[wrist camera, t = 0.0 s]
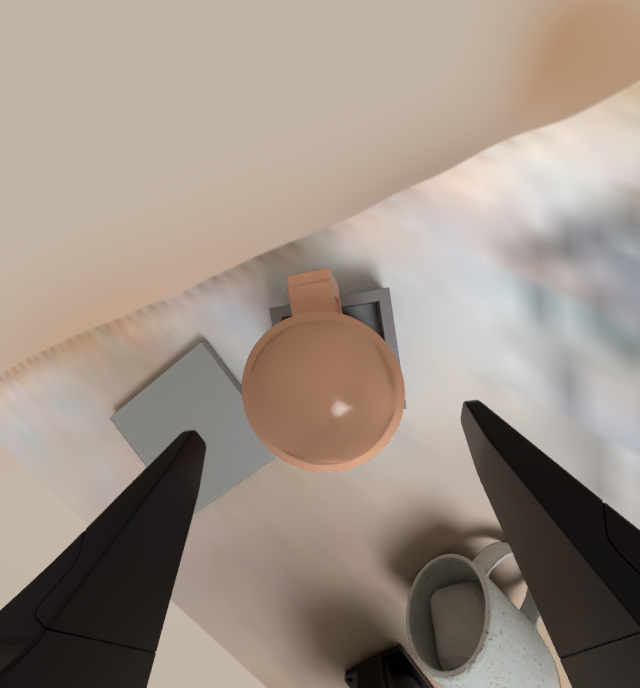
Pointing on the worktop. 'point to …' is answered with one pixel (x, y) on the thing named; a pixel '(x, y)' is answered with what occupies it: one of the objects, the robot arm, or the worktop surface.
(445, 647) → the ceramic mug
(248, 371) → the peach rounded cylinder
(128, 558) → the robot arm
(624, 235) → the worktop surface
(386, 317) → the holder
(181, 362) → the mat
